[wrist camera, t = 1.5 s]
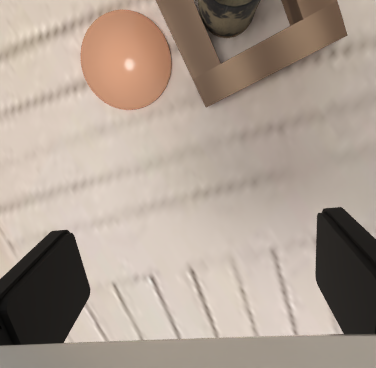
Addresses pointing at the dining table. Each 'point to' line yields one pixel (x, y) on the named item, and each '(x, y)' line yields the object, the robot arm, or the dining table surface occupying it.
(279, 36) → the frame
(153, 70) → the peach smooth round part
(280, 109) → the dining table surface
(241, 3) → the mug
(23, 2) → the dining table surface
